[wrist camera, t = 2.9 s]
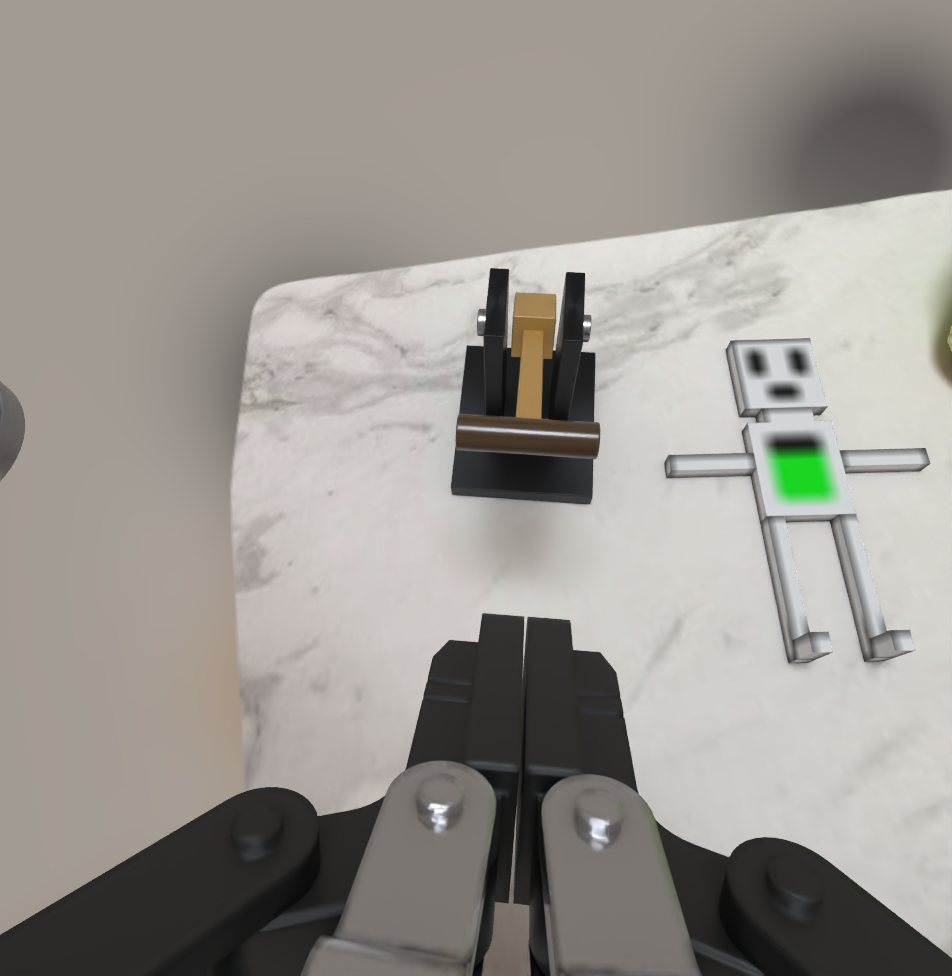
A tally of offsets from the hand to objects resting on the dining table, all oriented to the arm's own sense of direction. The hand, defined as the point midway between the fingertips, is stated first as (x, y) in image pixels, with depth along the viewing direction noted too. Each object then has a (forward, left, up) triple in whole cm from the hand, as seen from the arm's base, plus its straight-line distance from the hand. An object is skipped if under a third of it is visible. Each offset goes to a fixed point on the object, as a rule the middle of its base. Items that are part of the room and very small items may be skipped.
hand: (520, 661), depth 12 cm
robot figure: (+22, +12, -29) cm, 39 cm away
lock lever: (+5, +16, -17) cm, 24 cm away
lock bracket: (+6, +20, -29) cm, 36 cm away
